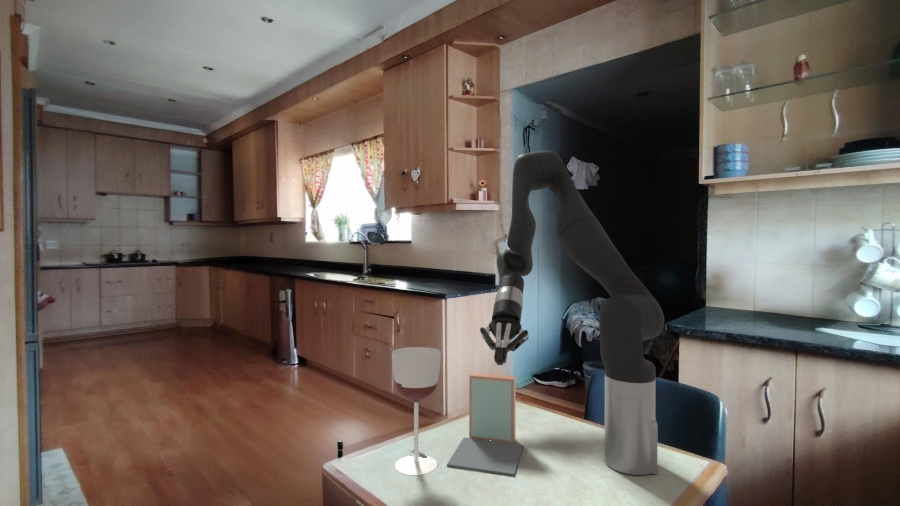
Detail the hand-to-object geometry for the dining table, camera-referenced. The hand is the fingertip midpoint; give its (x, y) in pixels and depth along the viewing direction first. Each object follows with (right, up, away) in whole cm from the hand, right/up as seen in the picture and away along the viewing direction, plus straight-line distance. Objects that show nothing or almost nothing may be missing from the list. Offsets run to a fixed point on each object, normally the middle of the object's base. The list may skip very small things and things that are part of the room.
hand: (499, 363), depth 107 cm
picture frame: (-3, -15, -9) cm, 17 cm away
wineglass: (-19, -15, -21) cm, 32 cm away
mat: (-5, -15, -17) cm, 23 cm away
